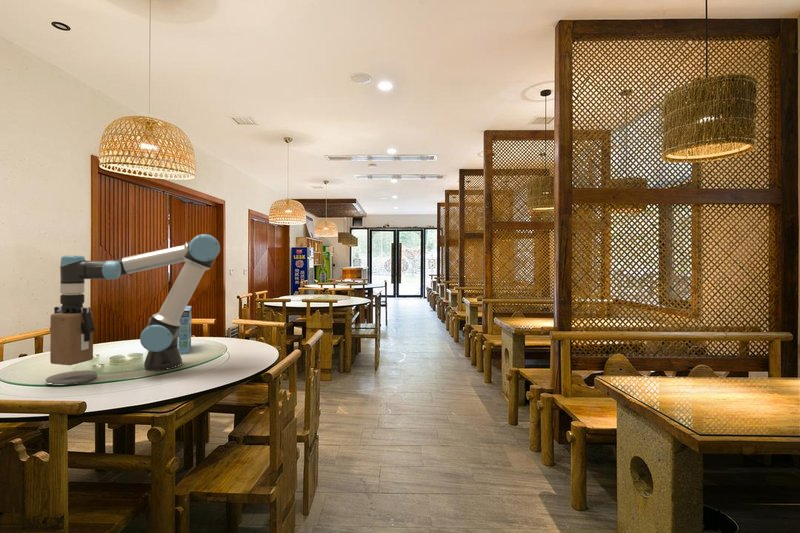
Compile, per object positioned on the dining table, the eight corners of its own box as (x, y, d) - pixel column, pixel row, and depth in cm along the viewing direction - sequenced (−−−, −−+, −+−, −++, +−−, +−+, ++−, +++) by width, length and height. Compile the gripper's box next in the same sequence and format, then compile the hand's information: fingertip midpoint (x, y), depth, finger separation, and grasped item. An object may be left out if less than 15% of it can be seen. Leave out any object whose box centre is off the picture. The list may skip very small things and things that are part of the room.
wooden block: (69, 366, 154) (69, 314, 154) (48, 364, 156) (49, 313, 156) (94, 359, 164) (94, 311, 164) (74, 358, 166) (74, 310, 166)
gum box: (181, 346, 223) (181, 306, 223) (191, 346, 225) (192, 305, 225) (177, 354, 205) (178, 310, 205) (188, 354, 207) (189, 310, 207)
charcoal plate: (107, 376, 168) (107, 371, 168) (71, 388, 152) (71, 383, 152) (72, 374, 169) (72, 369, 169) (34, 386, 153) (34, 380, 153)
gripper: (106, 293, 162) (106, 348, 163) (55, 292, 165) (55, 345, 165) (90, 295, 155) (89, 352, 155) (37, 293, 157) (37, 349, 158)
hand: (72, 348), depth 160 cm, fingers closed on wooden block, 10 cm apart
